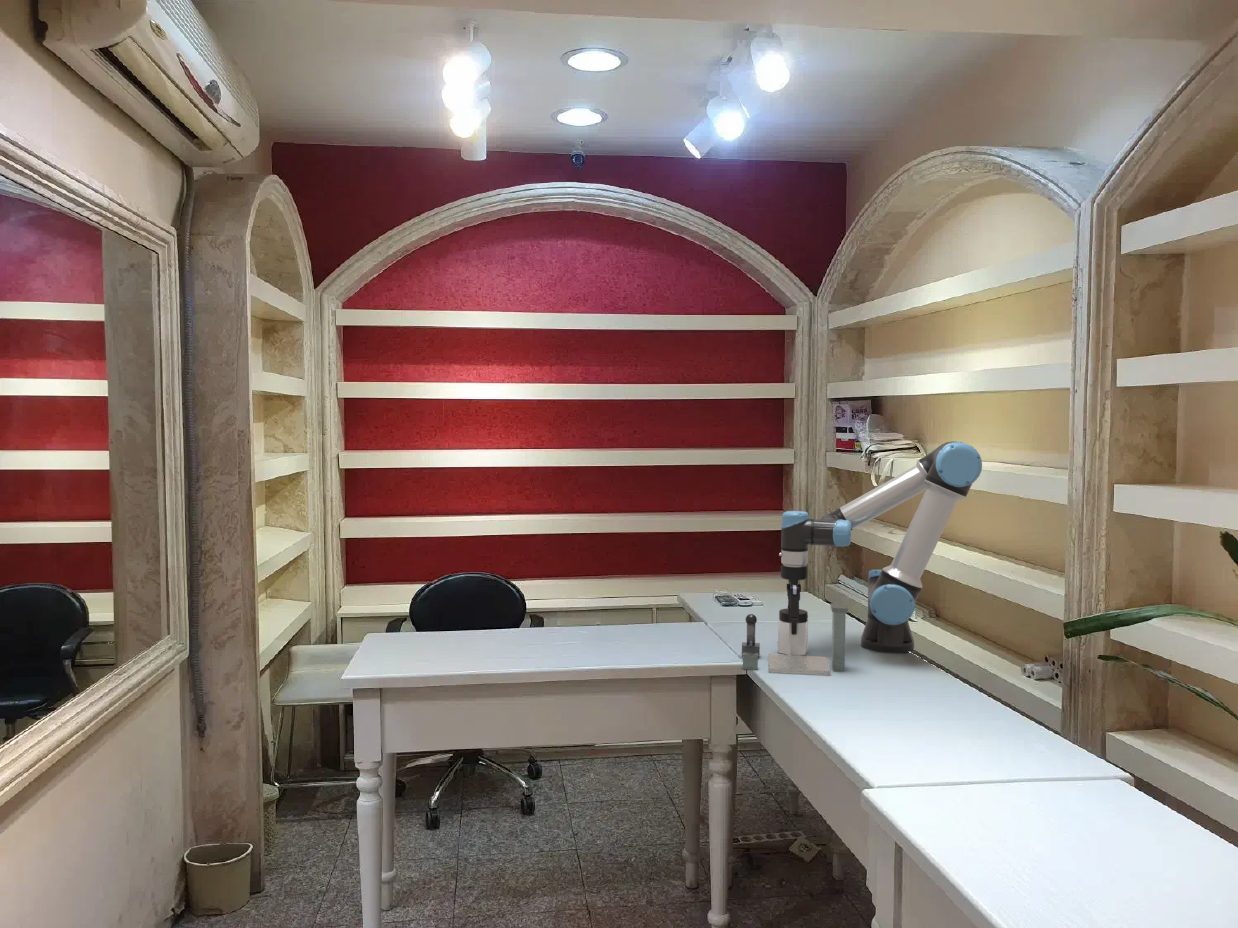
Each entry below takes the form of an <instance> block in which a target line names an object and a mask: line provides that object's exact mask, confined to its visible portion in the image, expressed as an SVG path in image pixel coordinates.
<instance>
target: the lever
mask: <svg viewBox="0 0 1238 928" xmlns="http://www.w3.org/2000/svg"><path fill="white" fill-rule="evenodd" d="M757 622H758V619H757V616H756V615H755V614H752V613H749V614H747V616H745V623H746V642H744V641H742V642H741V655H743V653H758V656H760V654H761V653H760V651H761V647H760V646H761V644H760V642H756V623H757Z"/></svg>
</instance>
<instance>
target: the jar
mask: <svg viewBox="0 0 1238 928" xmlns="http://www.w3.org/2000/svg"><path fill="white" fill-rule="evenodd" d="M808 614H809V613H808V611H807V610H806V609H800V608H799V646H792V645H789V623H787V620H790V608H788V607H787V608H782V609H780V610H779V613H778V617H779V618H778V622H777V623H778V624H777V625H778V626H777V627H778V630H777V632H778V633H777V653H779V654H781V655H796V656H806V654H807V653H808V650H809V647H808V645H809V644H808V643H809V641H808V640H809V639H808V638H809V615H808ZM792 618H796V617H792Z"/></svg>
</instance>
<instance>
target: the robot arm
mask: <svg viewBox="0 0 1238 928" xmlns="http://www.w3.org/2000/svg"><path fill="white" fill-rule="evenodd" d="M982 461H983V460H982V457H981V455H980V453H979V452H978V450H977V449H976V448H975V447H974V446H972V445H971V444H969V443H965V442H963V441H947V442H945V443H942V444H941V445H939V446H938V447H936V448H935V449H934V450H932V451H931V452H929V453H928V454H926V455H925V456H923V457H921V458H920V459H918V460H916V464H915V466H912V467H911V468H909V469H908V470H905V471H903V472H901V473H900V474H898V475H896V476H894V477H893V478H891V479H889V480H887V481H885V482H883V483H882V484H880V485H879V486H877V487H875V488H873V489H871V490H869V491H868V492H866V493H864V494H862V495H860V496H859V497H857V498H855V499H853V500H852V501H849V502H847V503H846V504H844V505H842V506H840V507H839V508H836V509H835V510H833V511H832V512H829V513H826V514H824V515H822V516H821V517H820V518H818V519H816V518H815V519H814V518H810V516H809V513H808V512H807V511H804V510H801V511H800V510H787V511H785V512H783V514H782V516H781V527H780V529H781V530H780V531H781V532H780V533H781V535H780V539H781V543H780V544H781V545H780V547H781V552H779V554H778V556H779V557H781V558H780V561H781V565H780V577H781V578H782V579H784V580H787V582H788V583H786V593H787V608H790V620H787V623H789V645H792V646H799V609H800V601H801V591H802V585H801V584H800V583H799V581H805V580H807V579H808V566H807V565H808V564H809V563H808V562H809V561H808V559H809V554H808V553H809V549H808V546H824V547H825V546H826V547H827V546H828V547H836V548H840V547H849V546H850V545H851V542H852V541H851V540H852V539H851V538H852V537H851V536H852V531H853V530H855V529H856V528H859V527H860V526H862V525H864V524H866V523H867V522H869V521H871V520H873V519H875V518H877V517H879V516H881V515H883V514H884V513H887V512H888V511H890V510H892V509H893V508H896V507H897V506H900V505H901V504H903V503H904V502H906V501H908V500H910V499H912V498H913V497H916V496H917V495H919V494H922V493H923V492H924V493H923V496H922V498H921V501H920V503H919V505H918V507H917V509H916V511H915V513H914V515H913V517H912V520H911V521H910V524H909V526H908V527H907V530H906V532H905V534H904V536H903V538H902V540H901V543H900V545H899V547H898V549H897V551H896V553H895V555H894V557H893V560H892V562H891V563H890V565H887V566H885V567H883V568H881V569H871V570H869V571H868V577H867V582H868V583H867V584H868V585H867V618H866V619H867V620H866V624H865V626H864V628H863V631H862V634H861V637H860V646H861V647H863V648H864V649H866V650H869V651H874V652H878V653H879V652H880V653H885V654H889V653H890V654H900V653H901V654H902V653H909V652H912V651H914V650H915V640H914V636H913V633H912V630H911V627H910V624H909V620H910V619H911V618H912V616H913V614H914V612H915V608H916V602H917V600H918V597H919V596H920V595H919V594H920V593H921V591H922V589H923V583H922V581H921V577H922V575H923V574H924V572H925V569H926V567H927V565H928V563H929V561H930V559H931V556H932V555H933V552H934V551H935V549H936V546H937V544H938V542H939V540H940V538H941V536H942V534H943V533H944V530H945V527H946V526H947V524H948V522H949V519H950V517H951V515H952V513H953V511H954V509H955V507H956V505H957V503H958V502H959V501H961V500H963V499H966V497H967V495H968V493H969V492H970V489H971V488H972V486H973V484H974V483H975V482H976V481H977V479H978V478H979V477H980V475H981V473H982V469H983V462H982ZM792 617H796V618H792Z"/></svg>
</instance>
